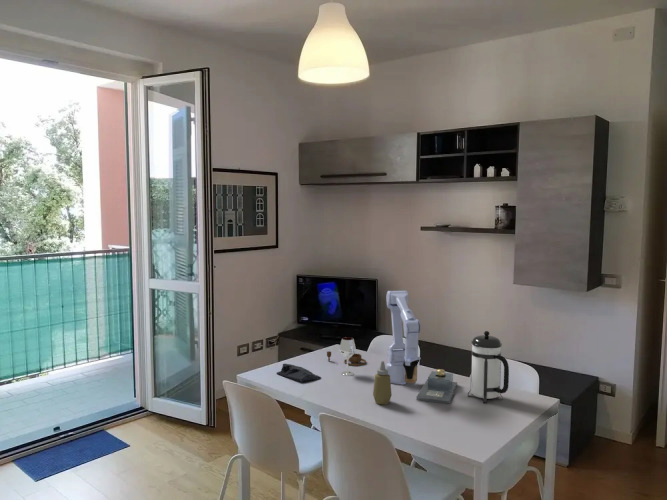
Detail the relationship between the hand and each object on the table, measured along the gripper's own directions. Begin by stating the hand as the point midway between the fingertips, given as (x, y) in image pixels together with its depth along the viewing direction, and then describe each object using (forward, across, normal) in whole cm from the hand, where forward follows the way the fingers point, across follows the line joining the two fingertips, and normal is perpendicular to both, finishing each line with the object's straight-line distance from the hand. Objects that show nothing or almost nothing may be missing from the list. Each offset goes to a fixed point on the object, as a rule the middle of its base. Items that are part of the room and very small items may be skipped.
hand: (411, 377), depth 222 cm
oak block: (+2, 0, 0) cm, 2 cm away
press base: (+9, +10, -10) cm, 17 cm away
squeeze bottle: (+9, -12, +10) cm, 18 cm away
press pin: (+4, +18, -10) cm, 21 cm away
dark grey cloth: (+9, +6, +58) cm, 59 cm away
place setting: (+10, +39, +43) cm, 59 cm away
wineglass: (+9, +18, +37) cm, 42 cm away
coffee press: (+9, +10, -32) cm, 35 cm away
